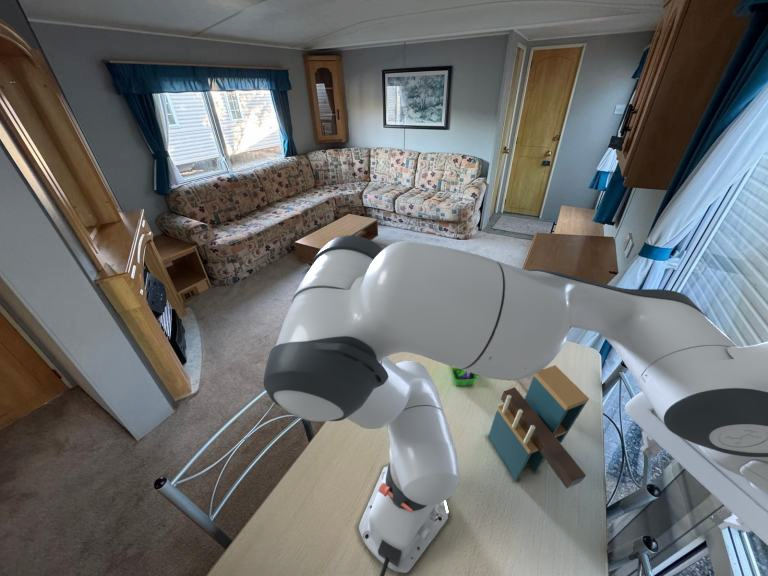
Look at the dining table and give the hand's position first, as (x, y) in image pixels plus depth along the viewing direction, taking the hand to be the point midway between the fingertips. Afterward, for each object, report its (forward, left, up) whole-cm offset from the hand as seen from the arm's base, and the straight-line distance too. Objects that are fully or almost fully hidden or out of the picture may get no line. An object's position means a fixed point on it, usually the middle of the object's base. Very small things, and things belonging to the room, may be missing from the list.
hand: (680, 484), depth 43 cm
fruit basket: (+28, +43, -37) cm, 63 cm away
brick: (+40, +23, -37) cm, 59 cm away
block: (+10, +17, -21) cm, 29 cm away
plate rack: (+15, +19, -37) cm, 44 cm away
